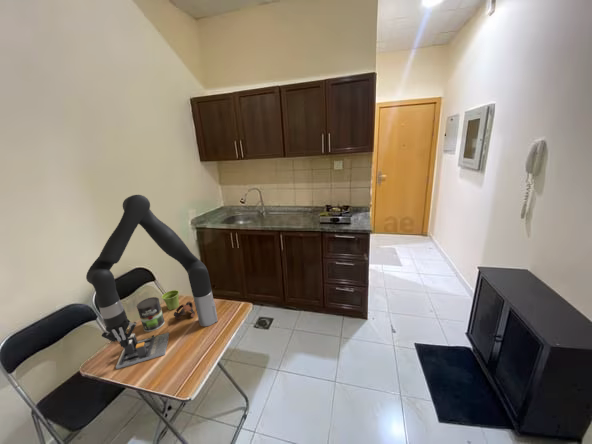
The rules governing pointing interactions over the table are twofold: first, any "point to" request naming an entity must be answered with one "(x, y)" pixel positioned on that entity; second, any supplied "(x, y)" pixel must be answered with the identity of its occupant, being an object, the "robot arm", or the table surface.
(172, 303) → the plant pot
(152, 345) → the breaker panel
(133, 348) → the block
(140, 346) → the breaker
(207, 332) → the table surface
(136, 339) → the block
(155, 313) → the coffee can
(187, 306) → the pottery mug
